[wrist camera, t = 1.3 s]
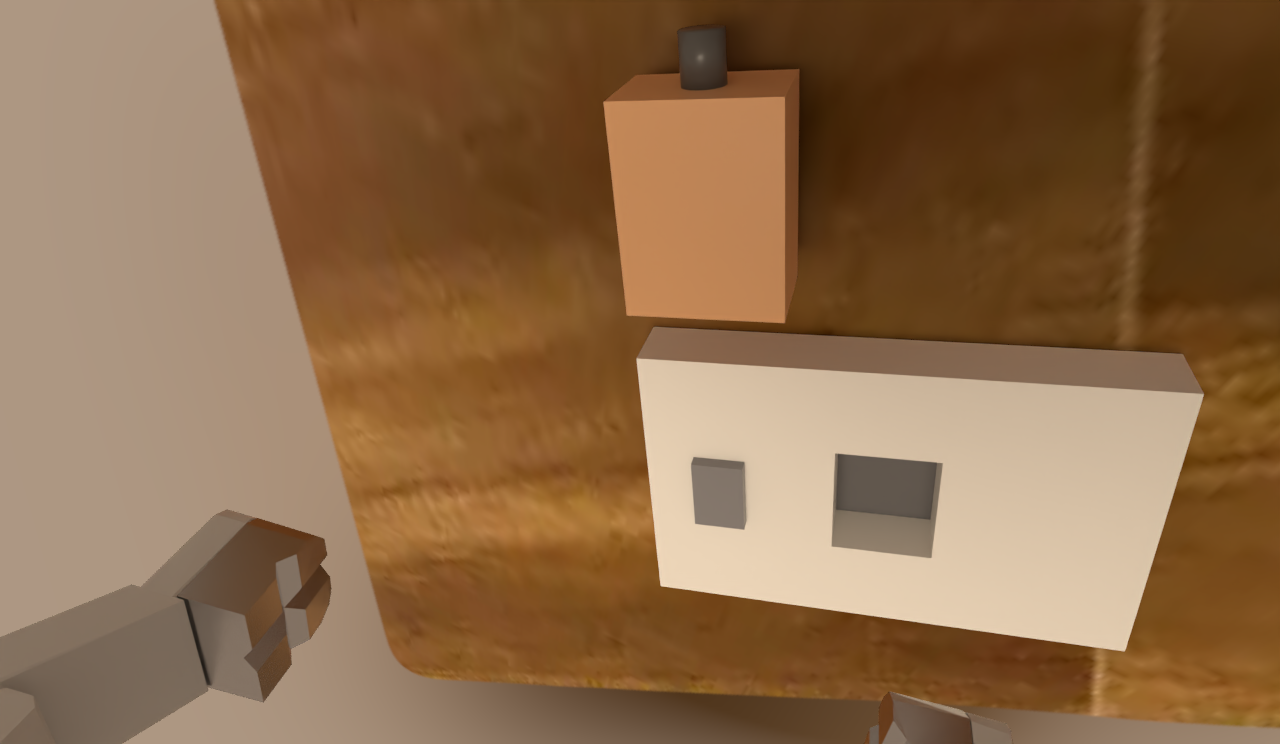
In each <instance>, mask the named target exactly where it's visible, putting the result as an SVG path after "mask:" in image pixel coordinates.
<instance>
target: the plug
mask: <svg viewBox="0 0 1280 744" xmlns="http://www.w3.org/2000/svg"><path fill="white" fill-rule="evenodd" d="M677 34H678V50H679V66H680V73H675V74H648V75H636V76H634V77H633V78H632V79H631V80H629V81H628V82H627V83H626V84H624V85H623V86H622V87H621V88H620V89H618V90H617V91H616V92H615V93H613V94H612V95H611V96H610V97H609V98H607V99H606V100H605V101H604V102H603V103H604V112H605V121H606V130H607V139H608V148H609V157H610V166H611V175H612V185H613V194H614V203H615V212H616V221H617V230H618V239H619V248H620V257H621V266H622V275H623V285H624V294H625V303H626V312H627V316H646V317H667V318H688V319H709V320H730V321H750V322H771V323H785V321H786V318H787V314H788V310H789V307H790V303H791V299H792V296H793V292H794V288H795V285H796V281H797V277H798V179H799V69H787V70H759V71H731V72H727V51H726V26H724V25H715V24H711V25H697V26H690V27H685V28H681V29H679V30H678V31H677Z"/></svg>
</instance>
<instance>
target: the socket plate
mask: <svg viewBox="0 0 1280 744" xmlns="http://www.w3.org/2000/svg"><path fill="white" fill-rule="evenodd" d="M636 359H637V368H638V378H639V387H640V396H641V406H642V415H643V424H644V434H645V443H646V453H647V462H648V471H649V481H650V490H651V500H652V509H653V518H654V528H655V537H656V547H657V556H658V565H659V575H660V584H661V586H665V587H672V588H679V589H686V590H693V591H700V592H707V593H714V594H722V595H729V596H736V597H743V598H750V599H757V600H764V601H771V602H778V603H785V604H792V605H800V606H807V607H814V608H821V609H828V610H835V611H842V612H849V613H856V614H863V615H871V616H878V617H885V618H892V619H899V620H906V621H913V622H920V623H927V624H934V625H941V626H949V627H956V628H963V629H970V630H977V631H984V632H991V633H998V634H1005V635H1012V636H1019V637H1027V638H1034V639H1041V640H1048V641H1055V642H1062V643H1069V644H1076V645H1083V646H1090V647H1098V648H1105V649H1112V650H1119V651H1125V650H1126V646H1127V643H1128V640H1129V637H1130V633H1131V630H1132V627H1133V624H1134V620H1135V617H1136V614H1137V611H1138V607H1139V604H1140V601H1141V598H1142V594H1143V591H1144V588H1145V585H1146V581H1147V578H1148V575H1149V572H1150V568H1151V565H1152V562H1153V559H1154V555H1155V552H1156V549H1157V546H1158V542H1159V539H1160V536H1161V533H1162V529H1163V526H1164V523H1165V520H1166V516H1167V513H1168V510H1169V507H1170V503H1171V500H1172V497H1173V494H1174V490H1175V487H1176V484H1177V481H1178V477H1179V474H1180V471H1181V468H1182V464H1183V461H1184V458H1185V455H1186V451H1187V448H1188V445H1189V442H1190V438H1191V435H1192V432H1193V429H1194V425H1195V422H1196V419H1197V416H1198V412H1199V409H1200V406H1201V403H1202V399H1203V396H1204V393H1203V391H1202V389H1201V387H1200V385H1199V383H1198V382H1197V380H1196V378H1195V376H1194V374H1193V372H1192V370H1191V368H1190V367H1189V365H1188V363H1187V361H1186V359H1185V357H1184V355H1183V354H1175V353H1156V352H1136V351H1117V350H1097V349H1078V348H1059V347H1039V346H1020V345H1000V344H981V343H961V342H942V341H922V340H903V339H884V338H864V337H845V336H825V335H806V334H786V333H767V332H747V331H728V330H709V329H689V328H670V327H653V329H652V331H651V333H650V334H649V336H648V338H647V340H646V342H645V344H644V345H643V347H642V349H641V351H640V353H639V355H638V357H637V358H636Z"/></svg>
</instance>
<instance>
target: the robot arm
mask: <svg viewBox="0 0 1280 744" xmlns="http://www.w3.org/2000/svg"><path fill="white" fill-rule="evenodd" d="M326 556H327V551H326V546H325V540H324V539H323V538H320V537H317V536H314V535H311V534H308V533H305V532H301V531H298V530H295V529H291V528H288V527H285V526H281V525H278V524H275V523H272V522H268V521H265V520H262V519H259V518H255V517H251V516H248V515H244V514H241V513H237V512H234V511H230V510H225V511H222V512H220V513H218V514H216V515H214V516H213V517H212V518H211V519H210V520H209V521H208V522H207V523H206V524H205V525H204V526H203V527H202V528H201V529H200V530H199V531H198V532H197V533H196V534H195V535H194V536H193V537H192V538H190V539H189V540H188V541H187V542H186V544H184V545H183V546H182V547H181V548H180V549H179V550H178V551H177V552H176V553H175V554H174V555H173V556H172V557H171V558H170V559H169V560H168V561H167V562H166V563H165V564H164V565H163V566H162V567H161V568H160V569H159V570H158V571H157V572H156V573H155V574H154V575H153V576H152V577H150V579H148V581H146V583H144V584H143V585H142V586H141V587H139V586H135V585H130V586H127V587H124V588H122V589H119V590H117V591H115V592H112V593H109V594H107V595H105V596H102V597H99V598H97V599H94V600H92V601H89V602H88V603H84V604H82V605H79V606H77V607H74V608H72V609H69V610H67V611H64V612H62V613H60V614H57V615H55V616H52V617H50V618H47V619H45V620H42V621H39V622H37V623H34V624H32V625H30V626H27V627H25V628H22V629H20V630H17V631H15V632H12V633H10V634H7V635H5V636H2V637H0V744H122V743H124V742H126V741H127V740H129V739H131V738H132V737H134V736H135V735H137V734H139V733H140V732H142V731H144V730H145V729H147V728H149V727H150V726H152V725H153V724H155V723H157V722H158V721H160V720H161V719H163V718H164V717H166V716H168V715H170V714H171V713H173V712H175V711H176V710H178V709H179V708H181V707H183V706H184V705H186V704H188V703H189V702H191V701H193V700H194V699H196V698H197V697H199V696H200V695H202V694H204V693H205V692H207V691H208V687H210V688H213V689H217V690H220V691H224V692H228V693H231V694H235V695H238V696H242V697H246V698H249V699H253V700H257V701H260V702H264V701H265V700H266V698H267V697H268V696H269V694H270V693H271V692H272V690H273V689H274V688H275V686H276V685H277V683H278V682H279V681H280V679H281V678H282V677H283V675H284V674H285V673H286V671H287V670H288V669H289V667H290V666H291V665H292V661H291V649H292V648H294V647H296V646H298V645H300V644H302V643H304V642H306V641H308V640H309V639H311V637H312V636H313V634H314V633H315V631H316V630H317V628H318V627H319V625H320V624H321V623H322V620H323V618H324V615H325V613H326V610H327V608H328V606H329V602H330V595H331V581H330V576H329V575H328V574H327V573H326V571H325V570H324V569H323V568H322V566H321V565H320V564H321V563H322V561H323V560H324V559H325V558H326ZM864 744H1013V740H1012V734H1011V730H1010V729H1009V727H1008V725H1007V724H1006V723H1003V722H1000V721H995V720H992V719H988V718H985V717H981V716H978V715H974V714H970V713H964V711H962V710H958V709H955V708H951V707H947V706H943V705H939V704H935V703H931V702H928V701H924V700H920V699H916V698H912V697H908V696H904V695H901V694H897V693H893V692H888V693H887V694H886V695H885V696H884V698H883V700H882V702H881V704H880V706H879V725H877V726H874V727H872V728H870V729H869V732H868V734H867V737H866V739H865V742H864Z"/></svg>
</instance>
